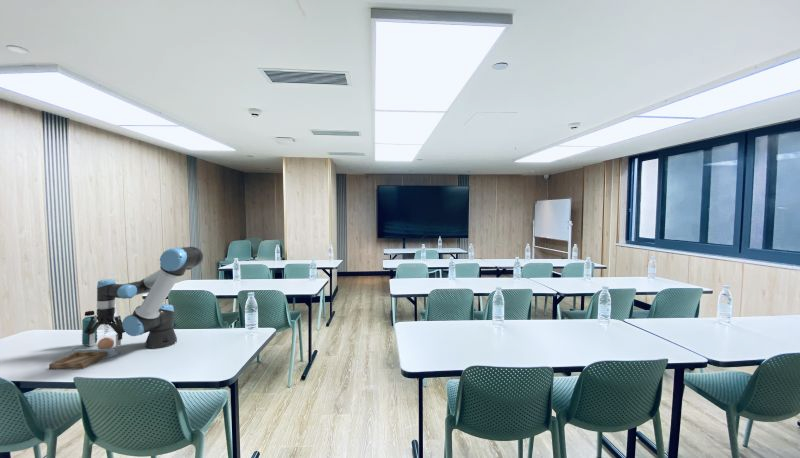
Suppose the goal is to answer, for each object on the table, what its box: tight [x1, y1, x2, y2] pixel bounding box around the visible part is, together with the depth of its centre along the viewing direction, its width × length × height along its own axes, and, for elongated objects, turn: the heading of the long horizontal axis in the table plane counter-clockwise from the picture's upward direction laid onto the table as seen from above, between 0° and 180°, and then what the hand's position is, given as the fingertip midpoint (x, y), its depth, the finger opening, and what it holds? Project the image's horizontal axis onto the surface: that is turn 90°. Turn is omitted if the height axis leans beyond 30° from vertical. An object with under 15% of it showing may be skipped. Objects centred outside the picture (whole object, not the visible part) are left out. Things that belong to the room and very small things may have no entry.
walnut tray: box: [48, 352, 107, 370], centre depth 168 cm, size 15×15×3 cm
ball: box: [96, 336, 115, 349], centre depth 185 cm, size 7×7×7 cm
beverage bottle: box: [81, 310, 98, 346], centre depth 190 cm, size 6×7×20 cm
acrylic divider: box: [72, 348, 119, 359], centre depth 177 cm, size 21×5×4 cm, turn 95°
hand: (105, 345), depth 185 cm, fingers open, 13 cm apart
